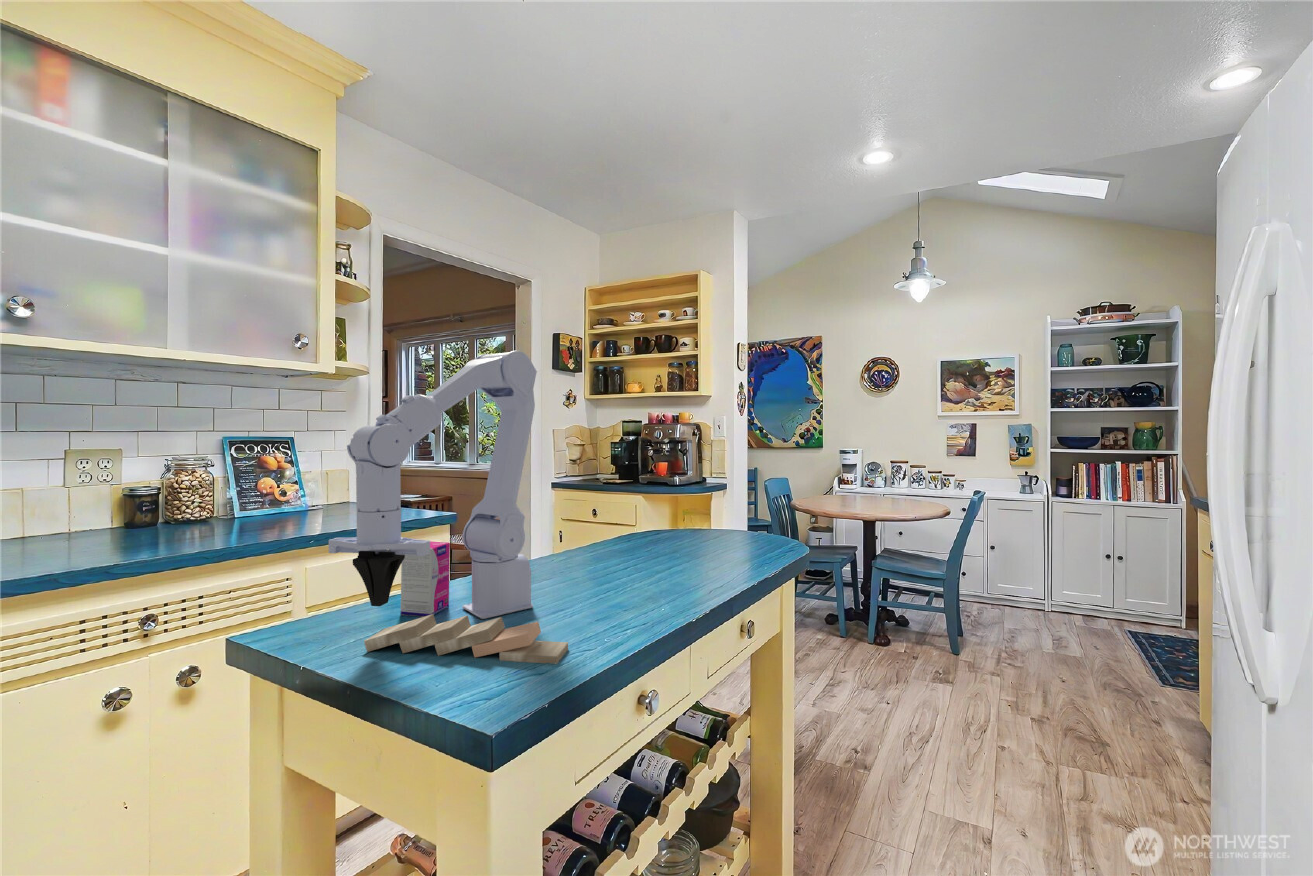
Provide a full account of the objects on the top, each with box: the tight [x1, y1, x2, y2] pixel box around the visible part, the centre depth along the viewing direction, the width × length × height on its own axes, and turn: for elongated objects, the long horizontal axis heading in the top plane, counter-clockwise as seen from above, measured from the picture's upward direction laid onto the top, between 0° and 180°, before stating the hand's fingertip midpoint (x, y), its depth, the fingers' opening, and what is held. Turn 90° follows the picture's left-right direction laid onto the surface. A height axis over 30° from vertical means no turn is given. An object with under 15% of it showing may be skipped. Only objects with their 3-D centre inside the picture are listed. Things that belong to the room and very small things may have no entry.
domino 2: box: [398, 615, 472, 654], centre depth 82 cm, size 2×5×8 cm
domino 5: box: [498, 640, 569, 665], centre depth 80 cm, size 2×5×8 cm
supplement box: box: [399, 540, 451, 618], centre depth 99 cm, size 6×6×12 cm
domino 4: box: [471, 621, 542, 658], centre depth 81 cm, size 2×5×8 cm
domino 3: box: [434, 616, 506, 657], centre depth 82 cm, size 2×5×8 cm
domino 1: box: [363, 614, 438, 653], centre depth 83 cm, size 2×5×8 cm
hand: (379, 604), depth 83 cm, fingers closed
